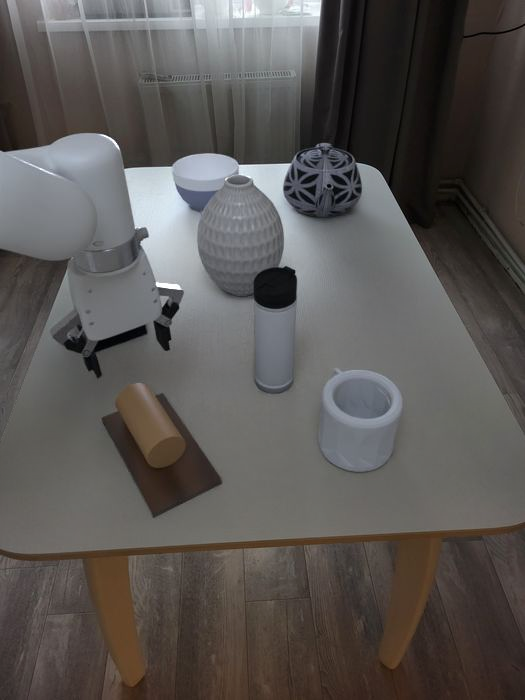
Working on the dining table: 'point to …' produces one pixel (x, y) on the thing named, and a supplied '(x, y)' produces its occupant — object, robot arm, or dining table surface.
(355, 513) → the dining table surface
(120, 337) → the button box
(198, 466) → the holder
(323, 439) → the mug
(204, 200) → the bowl
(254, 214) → the vase
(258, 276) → the travel mug
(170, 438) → the paper roll
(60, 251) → the robot arm
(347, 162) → the teapot
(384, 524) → the dining table surface
